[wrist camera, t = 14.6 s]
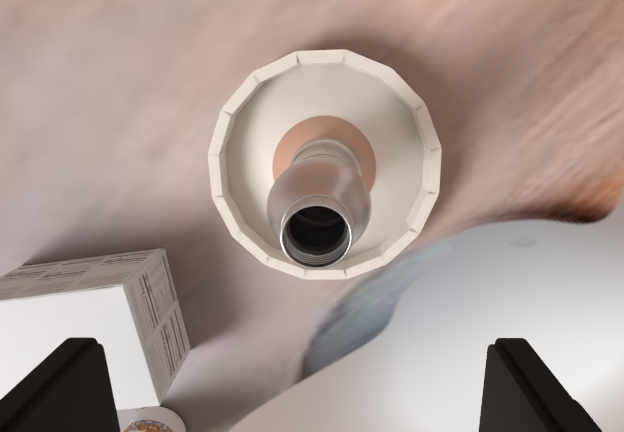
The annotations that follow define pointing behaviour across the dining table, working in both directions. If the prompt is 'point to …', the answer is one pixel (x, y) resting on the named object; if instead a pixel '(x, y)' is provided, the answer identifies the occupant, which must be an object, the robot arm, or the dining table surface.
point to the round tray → (326, 123)
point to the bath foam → (156, 421)
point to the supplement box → (97, 320)
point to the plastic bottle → (320, 204)
